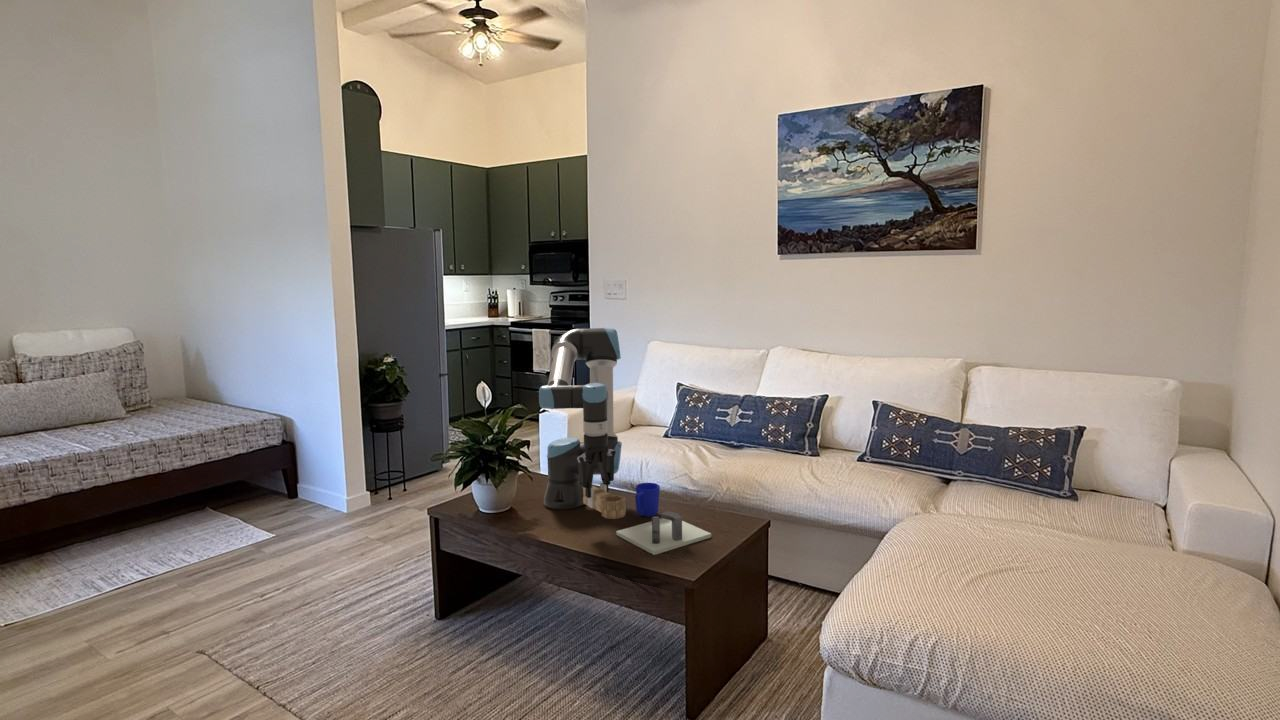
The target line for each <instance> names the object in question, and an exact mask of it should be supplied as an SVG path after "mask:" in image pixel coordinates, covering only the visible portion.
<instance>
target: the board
mask: <svg viewBox="0 0 1280 720" xmlns="http://www.w3.org/2000/svg"><path fill="white" fill-rule="evenodd" d="M615 535H616V536H618V537H620V538H621V539H623V540H625V541H627V542H629V543H631V544H632V545H634V546H636V547H639V548H640V549H642V550H644V551H646V552H647V553H649V554H651V555H653V556H656V555H659V554H661V553H664V552H669V551H671V550H674V549H678V548H681V547H684V546H688V545H691V544H694V543H697V542H699V541H700V542H701V541H704V540H706V539H710V538H712V533H711V532H709V531H707V530H704V529H702V528H700V527H698V526H696V525H693V524H691V523H688V522H686V521H684V520H682V540H677V541H675V540H673V539H672V521H671V520H667V519H664V518H660V543H659V544H653V543H652V520H651V521H648V522H645V523H641V524H637V525H634V526H630V527H626V528H623V529H619V530H616V531H615Z"/></svg>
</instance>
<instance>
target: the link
mask: <svg viewBox="0 0 1280 720" xmlns="http://www.w3.org/2000/svg"><path fill="white" fill-rule="evenodd" d="M592 487H593V488H594V508H592V509H594V510H596V511H597V512H600V513H601V517H603V518H605V519H611V520H617V519H621V518H624V517H626V516H625V515H626V513H627V511H626V497H625V496H622V495H621V494H613V493H610V492H606V491H604V490H601V489H600V487H598V486H595V485H592ZM583 503H584V505H586V506H588V498H587V497H586V496H585V488H584V487H583Z"/></svg>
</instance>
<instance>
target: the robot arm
mask: <svg viewBox="0 0 1280 720" xmlns="http://www.w3.org/2000/svg"><path fill="white" fill-rule="evenodd" d="M550 352H551V353H550V354H551V358H552V362H551V366H550V371H549V372H550V373H549V376H548V381H547V382H548V383H547V384H546V385H541V386H540V388H539V389H538V402H539V407H540V408H541V409H545V410H546V409H548V410H558V409H559V410H560V409H563V410H565V409H582V412H583V414H582V415H583V421H582V423H583V424H582V426H583V428H582V429H583V433H584V434H583V442H581V441H580V438H578V437H573V436H571V437H563V438H560V439H555V440H553V441H552V442H550V443H549V444H548V446H547V455H546V458H547V480H548V481H547V486H546V488H545V493H544V496H543V505H544V506H545V507H546V508H549V509H553V510H572V509H577V508H579V507H582V506H583V505H585V504H584V503H583V488H585V496H586V497H587V498H588V505H587V507H589V508H591V509H593V508H594V488H593V487H592V486H593V481H594V480H593V479H594V475H596V476H598V475H599V476H600V477H601V482H600V483H599V489H601V490H604V491H606V492H608V493H610V492H609V491H610V490H609V485H611V482H613V481H614V480H615V474H617V473H618V471H619V469H620V462H621V457H622V455H621V454H622V446H623V445H622V444H623V442H622V441H620V440H619V439H618V438H619V436H617V434H616V433H615V432H614V367H616V366H617V364H618V360H621V349H620V341H619V336H618V331H617V330H616V329H615V328H611V327H610V328H609V327H607V328H606V327H599V328H597V327H596V328H595V327H594V328H592V327H591V328H574V329H570V330H568V331H566V332H564V333H562V335H561V334H560V336H559V337H558V338H557V339H556V340H555V341H554V343H553V344H552V347H551V351H550ZM576 360H577V361H579V360H581V361H582V360H585V365H586V366H587V367H588V368H589V383H587V384H577V385H575V384H573V385H572V377H573V371H574V364H575V362H576Z"/></svg>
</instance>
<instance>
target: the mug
mask: <svg viewBox="0 0 1280 720" xmlns="http://www.w3.org/2000/svg"><path fill="white" fill-rule="evenodd" d="M660 488H661V487H660V485H659V484H658V483H654V482H643V483H638V484H636V485H635V491H636V492H635V495H634V496H635V499H634V500H635V507H636V508H635V509H636V513H637V514H638V515H639V516H641V517H642V516H643V517H646V518H647V517H648V518H651V517H654V516H656V515H657V514H658V513H659V503H660V502H659V501H660Z"/></svg>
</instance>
